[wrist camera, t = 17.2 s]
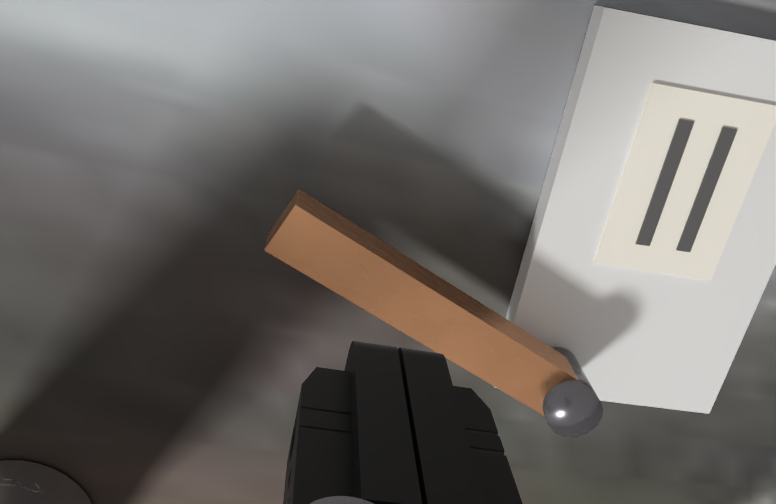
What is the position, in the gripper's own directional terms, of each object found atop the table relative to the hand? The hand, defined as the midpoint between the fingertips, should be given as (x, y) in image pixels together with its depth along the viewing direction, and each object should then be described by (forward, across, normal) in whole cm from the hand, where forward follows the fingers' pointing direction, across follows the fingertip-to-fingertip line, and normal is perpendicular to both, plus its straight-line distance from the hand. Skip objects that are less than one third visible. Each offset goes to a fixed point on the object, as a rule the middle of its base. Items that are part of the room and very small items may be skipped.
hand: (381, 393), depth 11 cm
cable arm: (+25, -7, +10) cm, 27 cm away
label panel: (+26, -18, +4) cm, 32 cm away
